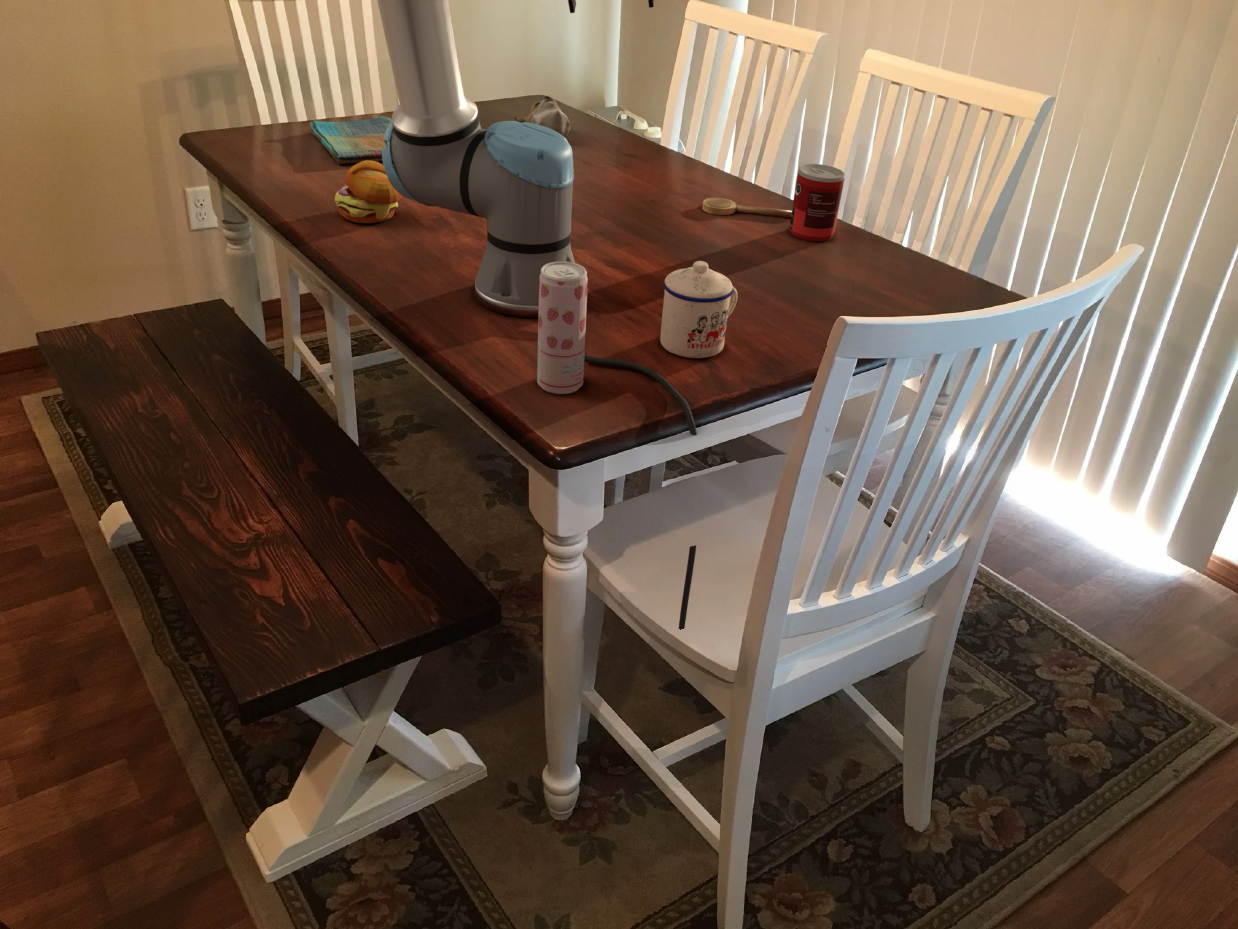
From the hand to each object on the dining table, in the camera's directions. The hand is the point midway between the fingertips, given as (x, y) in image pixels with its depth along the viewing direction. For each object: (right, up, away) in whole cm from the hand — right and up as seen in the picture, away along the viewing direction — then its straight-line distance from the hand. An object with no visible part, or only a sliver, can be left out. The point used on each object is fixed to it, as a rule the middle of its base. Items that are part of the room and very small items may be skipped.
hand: (612, 5), depth 170 cm
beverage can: (-6, -69, -47) cm, 83 cm away
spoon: (+25, -33, +10) cm, 42 cm away
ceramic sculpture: (-14, -9, +42) cm, 45 cm away
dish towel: (-50, -15, +29) cm, 60 cm away
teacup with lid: (+12, -62, -35) cm, 72 cm away
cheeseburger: (-41, -37, -3) cm, 55 cm away
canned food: (+34, -39, +3) cm, 52 cm away
